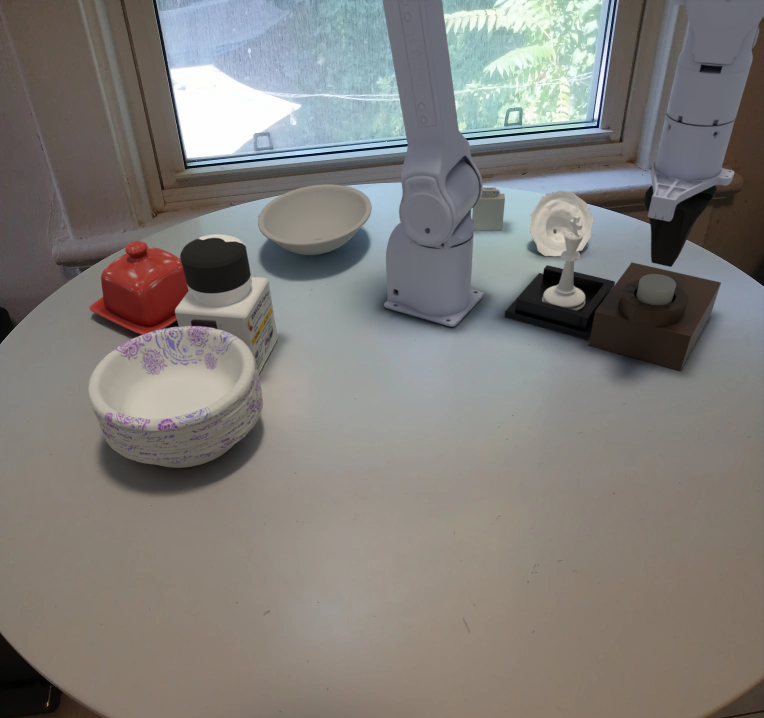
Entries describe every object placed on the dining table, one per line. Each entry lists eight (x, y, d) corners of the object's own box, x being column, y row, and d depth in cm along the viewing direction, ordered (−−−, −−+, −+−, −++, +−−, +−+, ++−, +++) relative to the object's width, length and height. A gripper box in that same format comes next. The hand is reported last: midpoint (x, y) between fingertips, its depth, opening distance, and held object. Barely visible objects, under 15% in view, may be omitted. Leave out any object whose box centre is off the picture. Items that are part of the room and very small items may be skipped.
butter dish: (149, 347, 83) (128, 278, 77) (87, 316, 88) (62, 250, 82) (222, 302, 89) (207, 235, 83) (160, 276, 94) (141, 212, 88)
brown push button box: (587, 346, 80) (597, 297, 76) (624, 295, 87) (634, 247, 83) (679, 372, 76) (695, 321, 72) (710, 316, 83) (726, 267, 79)
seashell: (560, 267, 100) (599, 215, 97) (566, 272, 95) (607, 217, 92) (513, 232, 98) (551, 178, 95) (517, 235, 93) (557, 178, 90)
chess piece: (559, 316, 83) (572, 231, 76) (533, 297, 86) (543, 213, 79) (594, 304, 84) (610, 220, 77) (567, 286, 87) (580, 203, 80)
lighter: (501, 224, 101) (506, 164, 95) (502, 230, 100) (507, 170, 94) (450, 224, 101) (452, 165, 96) (450, 230, 100) (452, 170, 94)
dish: (291, 215, 105) (287, 180, 102) (387, 224, 102) (386, 188, 99) (243, 275, 94) (236, 238, 90) (350, 287, 91) (347, 248, 87)
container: (257, 378, 78) (235, 265, 69) (190, 372, 79) (159, 260, 70) (279, 338, 83) (261, 228, 74) (215, 333, 85) (189, 224, 75)
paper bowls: (127, 510, 65) (98, 443, 59) (101, 414, 75) (75, 348, 69) (288, 460, 69) (276, 392, 63) (244, 374, 79) (230, 309, 73)
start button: (631, 301, 75) (634, 286, 74) (642, 285, 78) (645, 270, 76) (666, 310, 74) (670, 294, 73) (676, 293, 76) (680, 278, 75)
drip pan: (504, 317, 85) (506, 299, 83) (538, 278, 90) (540, 261, 89) (587, 339, 81) (590, 321, 79) (617, 297, 87) (621, 280, 85)
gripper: (728, 151, 57) (683, 305, 67) (767, 95, 66) (722, 239, 76) (639, 137, 60) (608, 287, 70) (688, 85, 68) (654, 226, 78)
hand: (663, 261), depth 73 cm, fingers closed
